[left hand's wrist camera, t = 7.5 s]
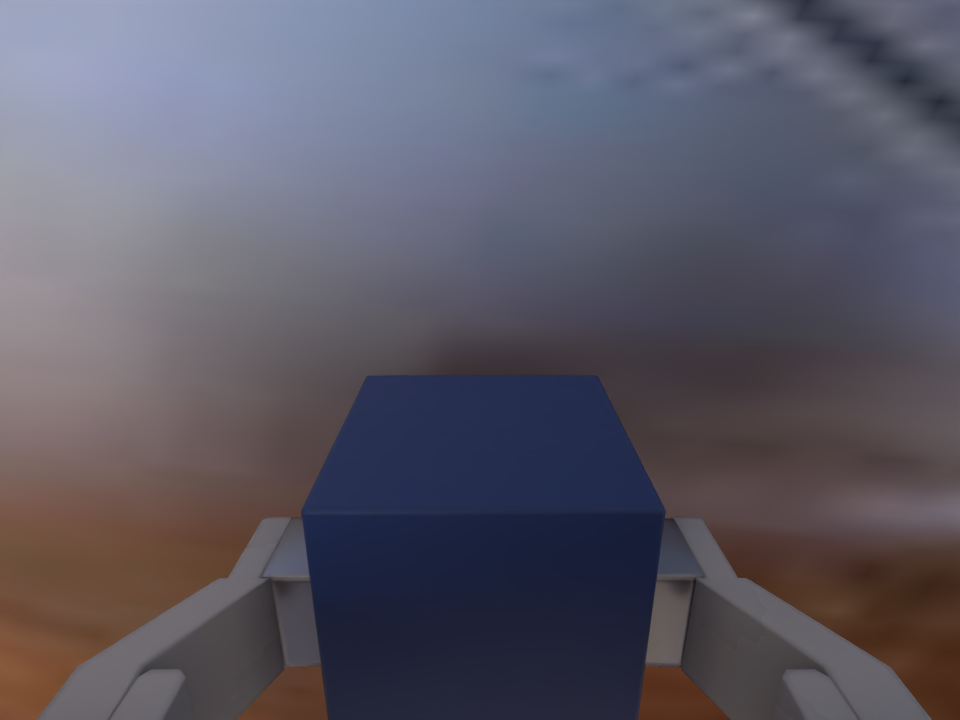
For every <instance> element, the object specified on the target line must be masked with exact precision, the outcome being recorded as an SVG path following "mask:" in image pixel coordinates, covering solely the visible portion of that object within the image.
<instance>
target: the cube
mask: <svg viewBox="0 0 960 720" xmlns="http://www.w3.org/2000/svg"><path fill="white" fill-rule="evenodd" d="M665 513H666V511H665V508H664V506H663V504H662V502H661V500H660V498H659V496H658V494H657V492H656V490H655V488H654V487H653V485H652V483H651V481H650V479H649V477H648V475H647V473H646V471H645V469H644V467H643V465H642V463H641V461H640V459H639V457H638V455H637V453H636V451H635V449H634V447H633V445H632V443H631V441H630V439H629V437H628V435H627V433H626V431H625V429H624V427H623V425H622V423H621V421H620V420H619V418H618V416H617V414H616V412H615V410H614V408H613V406H612V404H611V402H610V400H609V398H608V396H607V394H606V392H605V390H604V388H603V386H602V384H601V382H600V380H599V378H598V377H597V376H367V377H366V379H365V381H364V383H363V385H362V387H361V389H360V391H359V393H358V395H357V397H356V399H355V402H354V404H353V406H352V408H351V410H350V412H349V414H348V416H347V418H346V420H345V422H344V424H343V426H342V428H341V430H340V432H339V434H338V436H337V438H336V440H335V442H334V444H333V447H332V449H331V451H330V453H329V455H328V457H327V459H326V461H325V463H324V465H323V467H322V469H321V471H320V473H319V475H318V477H317V479H316V481H315V483H314V485H313V487H312V489H311V492H310V494H309V496H308V498H307V500H306V502H305V504H304V506H303V508H302V511H301V514H302V522H303V530H304V538H305V545H306V553H307V561H308V568H309V576H310V584H311V592H312V599H313V607H314V615H315V622H316V630H317V638H318V646H319V653H320V661H321V669H322V676H323V684H324V692H325V700H326V707H327V715H328V720H638V714H639V707H640V699H641V692H642V684H643V677H644V669H645V662H646V654H647V647H648V640H649V632H650V625H651V617H652V610H653V602H654V595H655V587H656V580H657V572H658V565H659V558H660V550H661V543H662V535H663V528H664V520H665Z"/></svg>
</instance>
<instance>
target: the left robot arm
mask: <svg viewBox="0 0 960 720" xmlns="http://www.w3.org/2000/svg"><path fill="white" fill-rule="evenodd" d="M300 666H321V661H320V653H319V646H318V638H317V630H316V622H315V615H314V607H313V599H312V592H311V584H310V576H309V568H308V561H307V553H306V545H305V538H304V530H303V522H302V517H295V518H292V517H267V518H265V519H263V520H262V521H261V522H260V524H259V526H258V527H257V529H256V531H255V532H254V534H253V536H252V538H251V539H250V541H249V543H248V544H247V546H246V548H245V549H244V551H243V553H242V555H241V556H240V558H239V560H238V561H237V563H236V565H235V567H234V568H233V570H232V572H231V573H230V575H229V577H228V578H219V579H217V580H215V581H214V582H212V583H211V584H209V585H207V586H206V587H204V588H203V589H201V590H199V591H198V592H196V593H195V594H193V595H191V596H190V597H188V598H187V599H185V600H183V601H182V602H180V603H179V604H177V605H175V606H174V607H172V608H171V609H169V610H167V611H166V612H164V613H163V614H161V615H159V616H158V617H156V618H155V619H153V620H151V621H150V622H148V623H147V624H145V625H143V626H142V627H140V628H139V629H137V630H135V631H134V632H132V633H131V634H129V635H127V636H126V637H124V638H123V639H121V640H119V641H118V642H116V643H115V644H113V645H111V646H110V647H108V648H107V649H105V650H103V651H102V652H100V653H99V654H97V655H95V656H94V657H92V658H91V659H89V660H87V661H86V662H84V663H83V664H81V665H79V666H78V667H77V668H76V669H75V671H74V672H73V673H72V674H71V676H70V677H69V678H68V680H67V681H66V682H65V683H64V685H63V686H62V687H61V689H60V690H59V691H58V692H57V694H56V695H55V696H54V698H53V699H52V700H51V701H50V703H49V704H48V705H47V707H46V708H45V709H44V710H43V712H42V713H41V714H40V716H39V717H38V718H37V719H36V720H236V719H237V718H238V717H239V716H240V715H241V714H242V713H243V712H244V711H245V710H246V709H247V708H248V707H249V706H250V705H251V704H252V703H253V702H254V700H255V699H256V698H257V697H258V696H259V695H260V694H261V693H262V692H263V691H264V690H265V689H266V688H267V687H268V686H269V685H270V684H271V683H272V682H273V681H274V680H275V679H276V678H277V677H278V676H279V675H280V674H281V673H282V672H283V671H284V667H300ZM645 666H665V667H681V670H682V671H683V672H684V673H685V674H686V675H687V676H688V677H689V678H690V679H691V680H692V681H693V682H694V683H695V684H696V685H697V686H698V687H699V688H700V689H701V690H702V691H703V692H704V693H705V694H706V695H707V696H708V697H709V698H710V700H711V701H712V702H713V703H714V704H715V705H716V706H717V707H718V708H719V709H720V710H721V711H722V712H723V713H724V714H725V715H726V716H727V717H728V718H729V719H730V720H931V718H930V717H929V716H928V714H927V713H926V712H925V711H924V709H923V708H922V707H921V706H920V704H919V703H918V702H917V700H916V699H915V698H914V697H913V695H912V694H911V693H910V692H909V690H908V689H907V688H906V686H905V685H904V684H903V683H902V681H901V680H900V679H899V678H898V676H897V675H896V674H895V672H894V671H893V670H892V669H891V667H889V666H887V665H886V664H884V663H882V662H881V661H879V660H878V659H876V658H874V657H873V656H871V655H870V654H868V653H866V652H865V651H863V650H862V649H860V648H858V647H857V646H855V645H853V644H852V643H850V642H849V641H847V640H845V639H844V638H842V637H841V636H839V635H837V634H836V633H834V632H833V631H831V630H829V629H828V628H826V627H824V626H823V625H821V624H820V623H818V622H816V621H815V620H813V619H812V618H810V617H808V616H807V615H805V614H803V613H802V612H800V611H799V610H797V609H795V608H794V607H792V606H791V605H789V604H787V603H786V602H784V601H783V600H781V599H779V598H778V597H776V596H774V595H773V594H771V593H770V592H768V591H766V590H765V589H763V588H762V587H760V586H758V585H757V584H755V583H754V582H752V581H750V580H749V579H747V578H738V577H737V576H736V574H735V572H734V571H733V569H732V567H731V566H730V564H729V562H728V561H727V559H726V557H725V556H724V554H723V553H722V551H721V549H720V548H719V546H718V544H717V543H716V541H715V539H714V538H713V536H712V534H711V533H710V531H709V530H708V528H707V526H706V525H705V523H704V521H703V520H702V519H701V518H699V517H673V518H665V520H664V528H663V535H662V543H661V550H660V558H659V565H658V572H657V580H656V587H655V595H654V602H653V610H652V617H651V625H650V632H649V640H648V647H647V654H646V662H645Z"/></svg>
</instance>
